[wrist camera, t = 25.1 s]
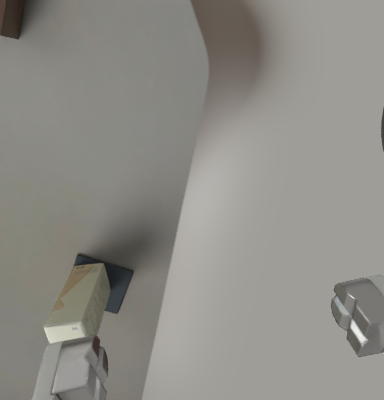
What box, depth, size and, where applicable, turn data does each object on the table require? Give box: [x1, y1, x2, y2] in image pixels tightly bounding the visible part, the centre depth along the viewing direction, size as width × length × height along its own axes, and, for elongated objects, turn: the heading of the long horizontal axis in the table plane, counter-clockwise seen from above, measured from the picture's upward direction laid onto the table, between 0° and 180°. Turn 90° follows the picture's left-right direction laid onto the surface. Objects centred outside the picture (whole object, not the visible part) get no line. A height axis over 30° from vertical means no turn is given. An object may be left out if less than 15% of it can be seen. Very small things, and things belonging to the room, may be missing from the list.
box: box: [44, 263, 110, 344], centre depth 39 cm, size 5×4×11 cm
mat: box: [74, 254, 133, 314], centre depth 45 cm, size 8×8×1 cm
